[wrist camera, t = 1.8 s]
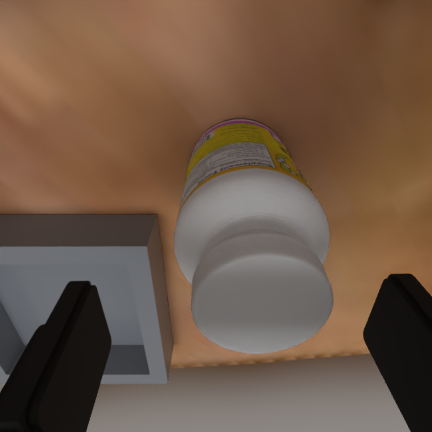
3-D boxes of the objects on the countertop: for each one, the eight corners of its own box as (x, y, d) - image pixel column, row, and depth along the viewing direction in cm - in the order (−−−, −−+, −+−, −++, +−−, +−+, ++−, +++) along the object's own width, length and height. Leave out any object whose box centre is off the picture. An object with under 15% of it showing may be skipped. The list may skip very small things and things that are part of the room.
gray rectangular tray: (157, 214, 23) (146, 246, 19) (173, 345, 31) (167, 383, 28) (-53, 214, 23) (-100, 246, 19) (20, 345, 31) (-5, 384, 28)
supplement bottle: (286, 200, 22) (355, 364, 11) (199, 211, 23) (182, 378, 12) (284, 107, 19) (381, 214, 8) (181, 123, 19) (135, 243, 8)
